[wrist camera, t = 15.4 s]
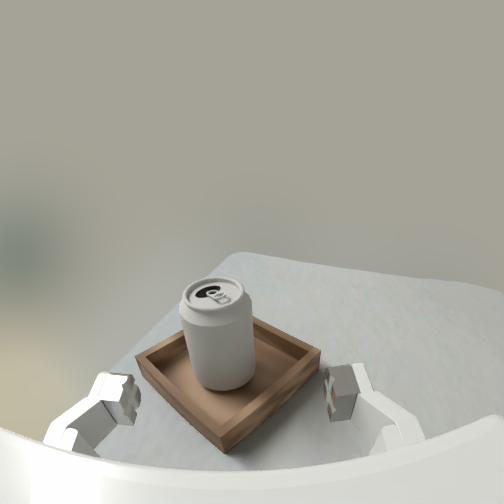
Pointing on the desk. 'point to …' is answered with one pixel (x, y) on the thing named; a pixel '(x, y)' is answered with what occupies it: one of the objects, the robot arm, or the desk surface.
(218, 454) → the desk surface
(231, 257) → the desk surface
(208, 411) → the tray
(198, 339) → the can
